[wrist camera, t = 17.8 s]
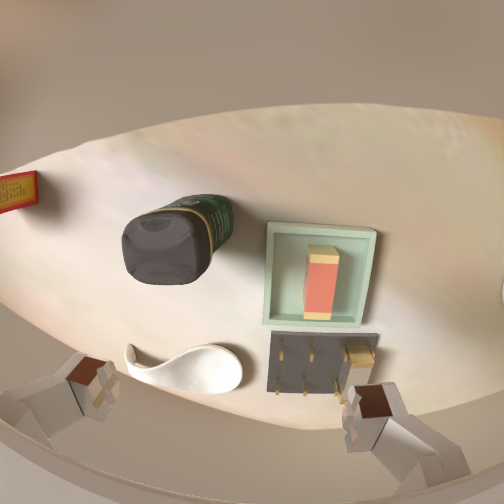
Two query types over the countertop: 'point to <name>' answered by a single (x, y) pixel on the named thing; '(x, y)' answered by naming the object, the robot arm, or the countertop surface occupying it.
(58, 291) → the countertop surface
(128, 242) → the coffee jar
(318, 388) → the fuse holder
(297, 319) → the tray
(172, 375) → the spoon rest
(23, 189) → the baking soda box
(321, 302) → the fuse
